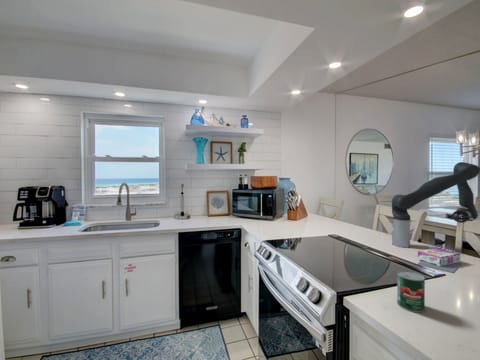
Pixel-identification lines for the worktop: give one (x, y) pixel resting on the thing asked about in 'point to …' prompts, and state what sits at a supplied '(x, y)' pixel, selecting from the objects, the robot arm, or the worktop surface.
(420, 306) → the canned tomato
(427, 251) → the candy bar box
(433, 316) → the worktop surface
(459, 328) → the worktop surface
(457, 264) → the rubber mat
